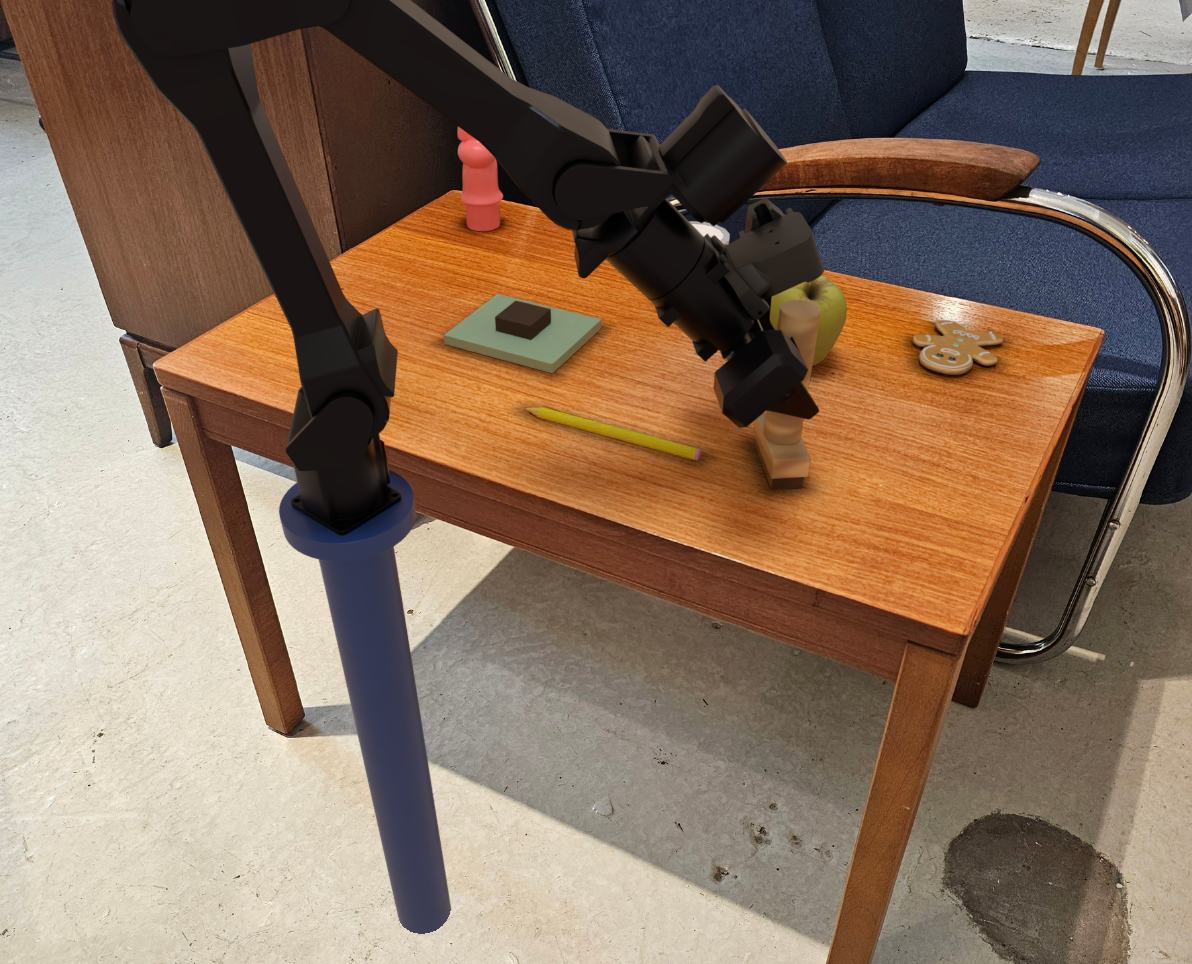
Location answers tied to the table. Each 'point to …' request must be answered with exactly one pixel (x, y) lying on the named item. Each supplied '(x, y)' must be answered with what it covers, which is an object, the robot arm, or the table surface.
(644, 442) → the pencil
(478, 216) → the figurine
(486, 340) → the mat
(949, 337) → the cookie
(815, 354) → the apple
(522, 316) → the dark brown square block
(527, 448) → the table surface
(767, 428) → the wooden rubber stamp
